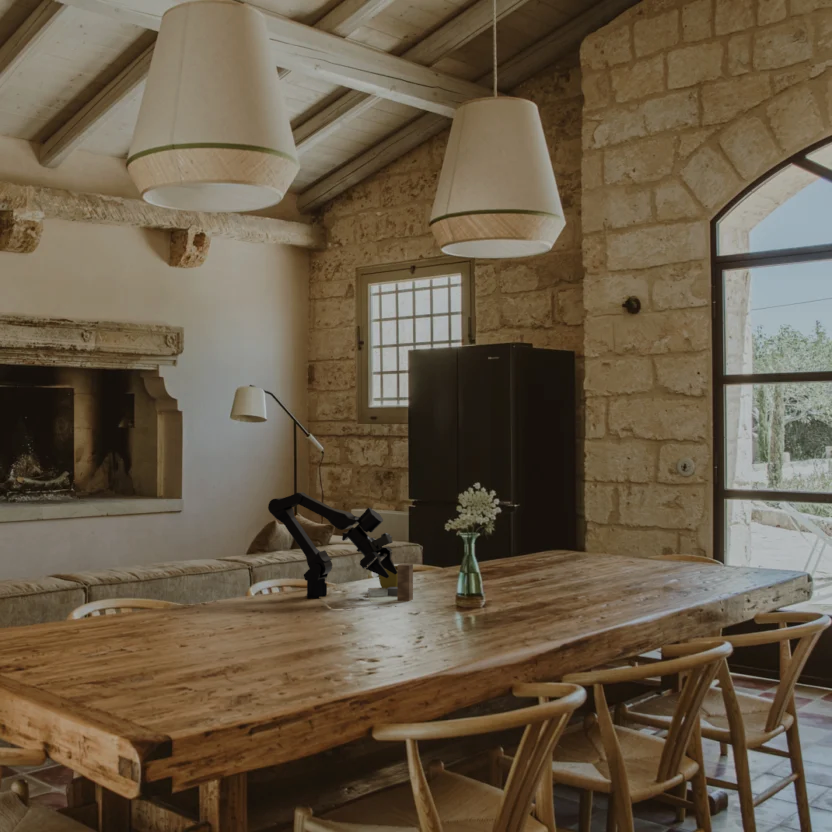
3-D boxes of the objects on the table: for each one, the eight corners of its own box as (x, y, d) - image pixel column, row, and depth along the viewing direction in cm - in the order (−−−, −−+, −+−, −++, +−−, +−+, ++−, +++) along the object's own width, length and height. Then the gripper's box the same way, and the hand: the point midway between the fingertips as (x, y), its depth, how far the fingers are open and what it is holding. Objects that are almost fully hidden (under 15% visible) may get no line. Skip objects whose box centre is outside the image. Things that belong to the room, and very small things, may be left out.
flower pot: (396, 595, 354) (396, 570, 354) (377, 593, 359) (377, 568, 359) (411, 592, 361) (411, 567, 361) (392, 590, 366) (392, 565, 366)
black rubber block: (386, 595, 350) (386, 588, 350) (389, 593, 354) (389, 586, 354) (400, 596, 349) (400, 589, 349) (403, 594, 353) (403, 587, 353)
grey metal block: (370, 597, 347) (370, 589, 347) (368, 595, 351) (368, 588, 351) (387, 596, 349) (387, 589, 349) (384, 594, 353) (384, 587, 353)
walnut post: (397, 600, 340) (397, 565, 340) (401, 598, 344) (401, 563, 344) (409, 601, 339) (409, 565, 339) (412, 599, 343) (412, 564, 343)
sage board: (370, 603, 337) (370, 602, 337) (367, 596, 353) (367, 594, 353) (411, 603, 339) (411, 601, 339) (407, 595, 354) (407, 593, 354)
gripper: (369, 528, 335) (400, 563, 332) (387, 523, 353) (416, 556, 350) (346, 550, 338) (377, 585, 334) (365, 544, 356) (394, 577, 352)
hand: (392, 575), depth 343 cm, fingers open, 9 cm apart
